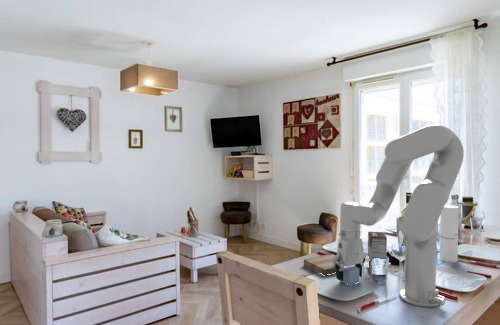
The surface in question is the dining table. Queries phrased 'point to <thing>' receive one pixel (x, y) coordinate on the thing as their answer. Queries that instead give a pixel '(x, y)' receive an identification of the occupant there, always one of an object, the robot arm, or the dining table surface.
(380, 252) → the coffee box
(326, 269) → the walnut base
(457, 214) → the cylindrical container
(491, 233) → the dining table surface
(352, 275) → the slate block
